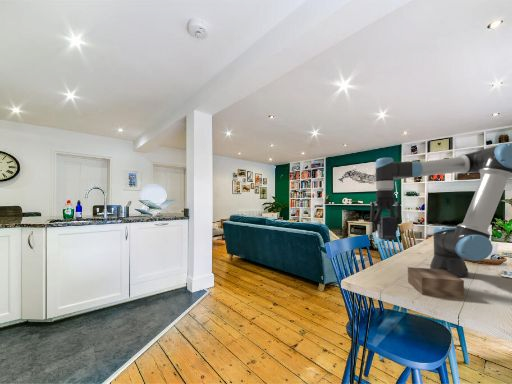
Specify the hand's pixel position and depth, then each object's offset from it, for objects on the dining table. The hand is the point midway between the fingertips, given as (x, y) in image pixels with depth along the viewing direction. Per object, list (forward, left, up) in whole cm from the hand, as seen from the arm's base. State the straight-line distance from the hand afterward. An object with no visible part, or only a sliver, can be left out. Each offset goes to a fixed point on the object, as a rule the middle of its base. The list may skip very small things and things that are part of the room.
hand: (385, 237), depth 113 cm
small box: (0, 0, -1) cm, 1 cm away
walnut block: (-13, +14, -19) cm, 27 cm away
